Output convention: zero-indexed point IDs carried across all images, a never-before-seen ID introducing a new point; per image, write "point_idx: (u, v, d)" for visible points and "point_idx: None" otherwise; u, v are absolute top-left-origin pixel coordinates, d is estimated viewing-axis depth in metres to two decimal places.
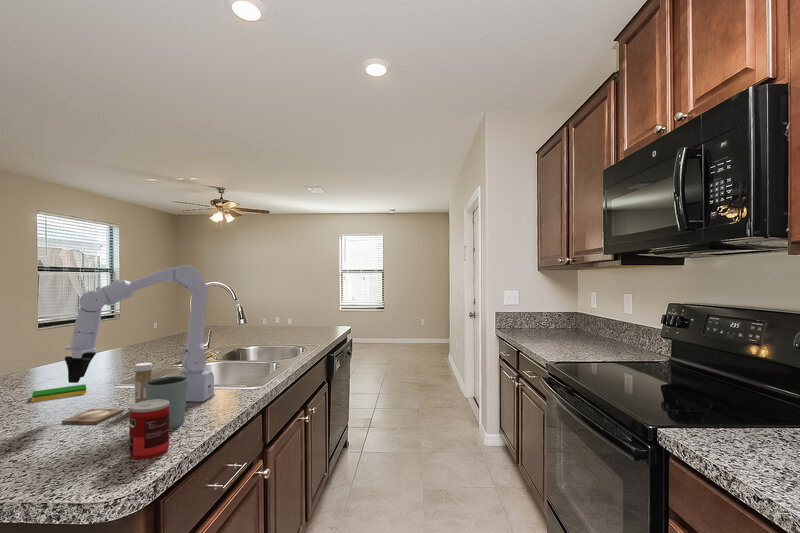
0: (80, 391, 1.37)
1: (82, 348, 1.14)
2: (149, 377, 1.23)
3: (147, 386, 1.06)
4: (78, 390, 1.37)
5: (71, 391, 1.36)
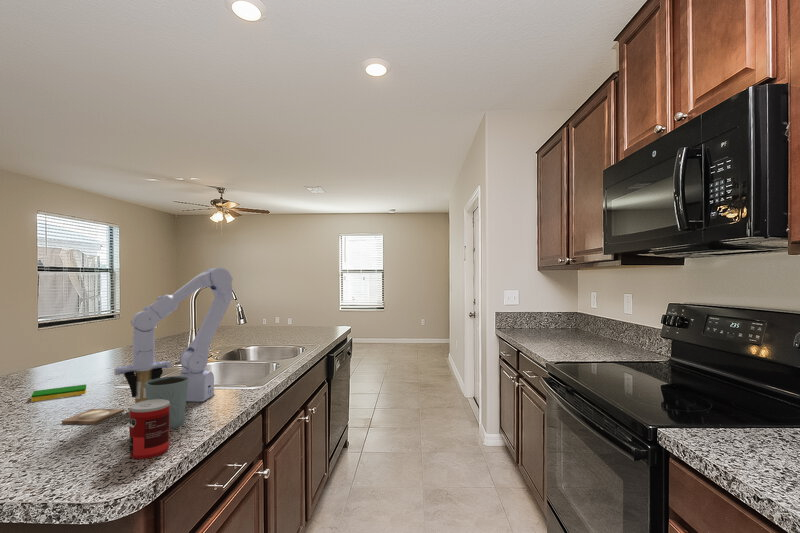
0: (79, 391, 1.37)
1: (132, 365, 1.22)
2: (149, 377, 1.23)
3: (147, 386, 1.06)
4: (77, 390, 1.36)
5: (70, 391, 1.35)
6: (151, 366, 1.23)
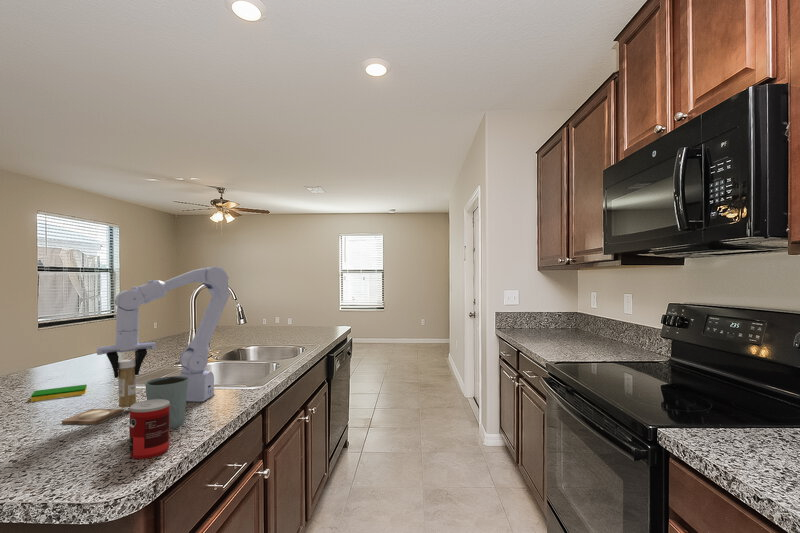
0: (79, 392, 1.36)
1: (115, 345, 1.19)
2: (133, 374, 1.21)
3: (147, 386, 1.06)
4: (77, 390, 1.36)
5: (70, 391, 1.35)
6: (135, 346, 1.20)
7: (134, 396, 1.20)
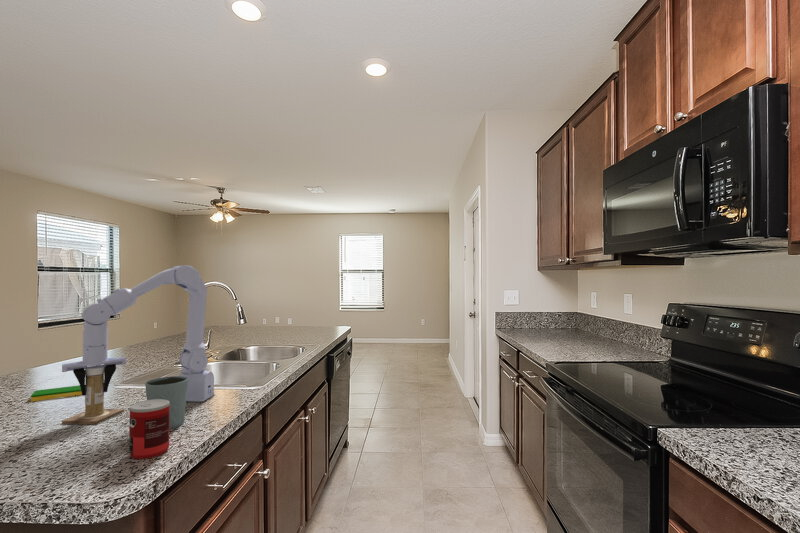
0: (78, 392, 1.36)
1: (82, 362, 1.13)
2: (101, 381, 1.15)
3: (147, 386, 1.06)
4: (76, 391, 1.36)
5: (69, 391, 1.35)
6: (103, 362, 1.14)
7: (101, 405, 1.15)
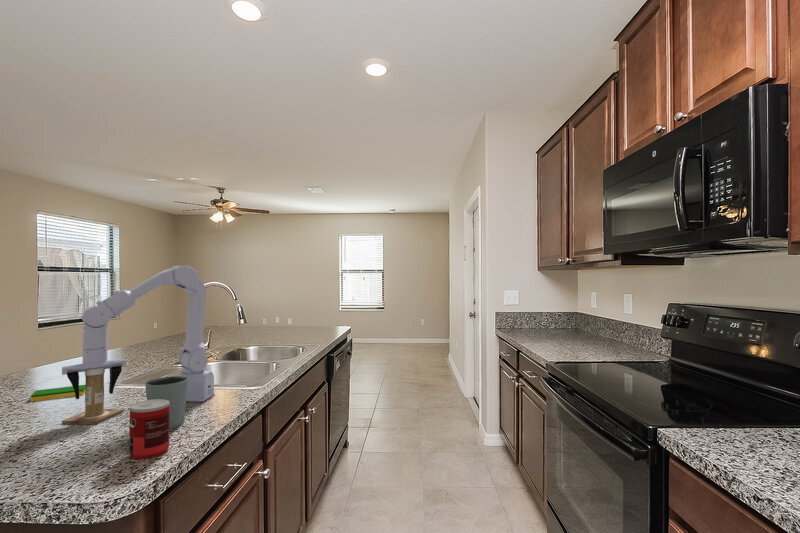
0: None
1: (82, 364, 1.13)
2: (101, 381, 1.15)
3: (147, 386, 1.06)
4: None
5: (69, 392, 1.35)
6: (103, 365, 1.14)
7: (101, 405, 1.15)
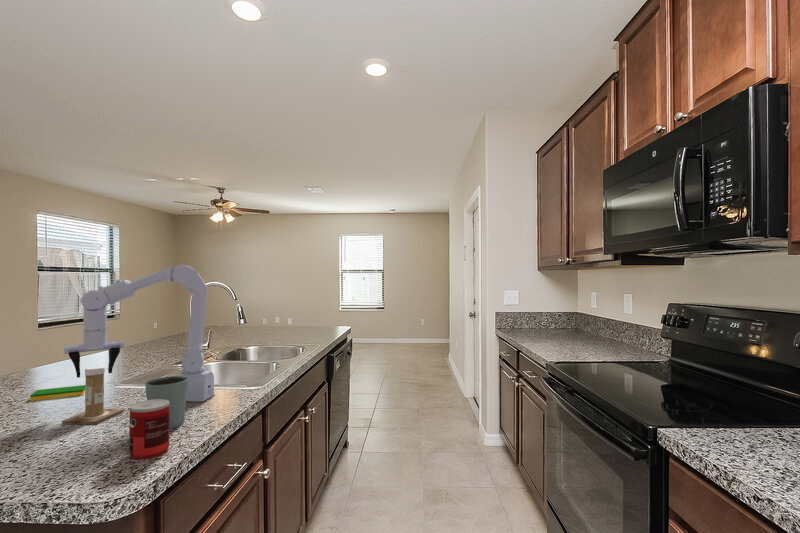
0: (77, 392, 1.36)
1: (83, 345, 1.20)
2: (101, 381, 1.15)
3: (147, 386, 1.06)
4: (75, 391, 1.35)
5: (68, 392, 1.35)
6: (102, 345, 1.22)
7: (101, 405, 1.15)
